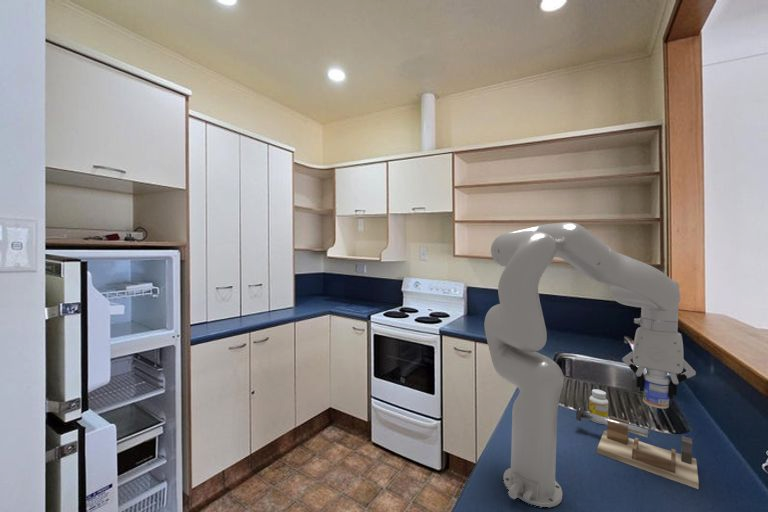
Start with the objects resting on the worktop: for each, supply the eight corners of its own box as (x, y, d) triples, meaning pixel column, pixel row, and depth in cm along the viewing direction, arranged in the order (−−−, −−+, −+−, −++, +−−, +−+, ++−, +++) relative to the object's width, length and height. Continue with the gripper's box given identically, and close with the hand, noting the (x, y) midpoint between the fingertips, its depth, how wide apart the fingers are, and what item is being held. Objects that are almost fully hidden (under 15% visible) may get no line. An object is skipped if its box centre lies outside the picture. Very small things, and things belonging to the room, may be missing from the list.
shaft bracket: (698, 489, 79) (699, 460, 79) (597, 453, 92) (597, 428, 92) (695, 464, 88) (697, 438, 88) (604, 435, 102) (605, 412, 102)
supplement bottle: (609, 426, 107) (610, 396, 107) (589, 422, 110) (590, 393, 109) (606, 418, 112) (607, 390, 112) (587, 414, 115) (588, 387, 114)
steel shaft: (646, 444, 91) (647, 428, 91) (575, 422, 103) (576, 408, 103) (647, 438, 95) (648, 422, 95) (579, 417, 106) (579, 403, 106)
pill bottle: (643, 397, 92) (644, 362, 92) (668, 404, 88) (670, 367, 88) (642, 404, 88) (643, 367, 88) (669, 411, 84) (670, 373, 84)
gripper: (617, 322, 91) (614, 388, 91) (704, 334, 79) (701, 409, 80) (620, 318, 96) (618, 380, 96) (702, 329, 85) (699, 399, 85)
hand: (655, 393), depth 88 cm, fingers closed on pill bottle, 5 cm apart
